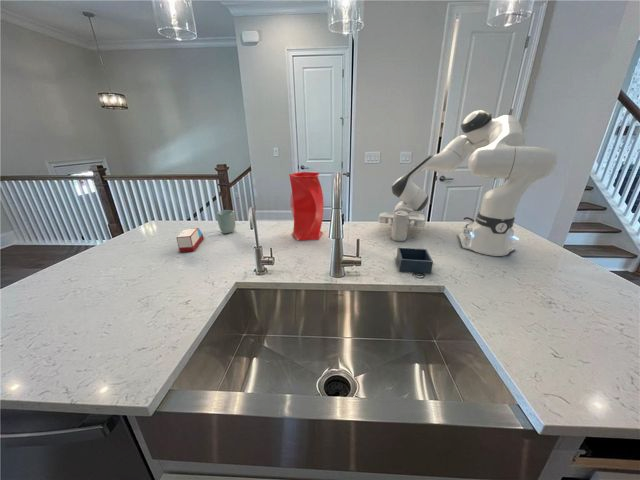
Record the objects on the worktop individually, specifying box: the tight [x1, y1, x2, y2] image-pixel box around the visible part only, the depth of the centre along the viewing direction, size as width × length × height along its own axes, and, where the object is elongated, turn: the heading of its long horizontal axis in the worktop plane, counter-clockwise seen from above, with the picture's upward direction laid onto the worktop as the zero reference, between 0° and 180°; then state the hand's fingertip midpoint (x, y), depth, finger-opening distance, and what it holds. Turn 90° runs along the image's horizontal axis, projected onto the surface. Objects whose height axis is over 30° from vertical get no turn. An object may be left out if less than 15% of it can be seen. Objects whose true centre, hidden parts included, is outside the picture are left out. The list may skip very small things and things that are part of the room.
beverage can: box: [391, 212, 409, 242], centre depth 113 cm, size 6×6×12 cm
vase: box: [288, 171, 324, 241], centre depth 115 cm, size 15×14×28 cm
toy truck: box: [176, 227, 204, 253], centre depth 111 cm, size 6×15×7 cm, turn 8°
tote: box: [396, 247, 434, 275], centre depth 91 cm, size 10×10×5 cm
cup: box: [216, 209, 237, 234], centre depth 125 cm, size 8×8×10 cm
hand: (400, 224), depth 112 cm, fingers closed on beverage can, 6 cm apart
